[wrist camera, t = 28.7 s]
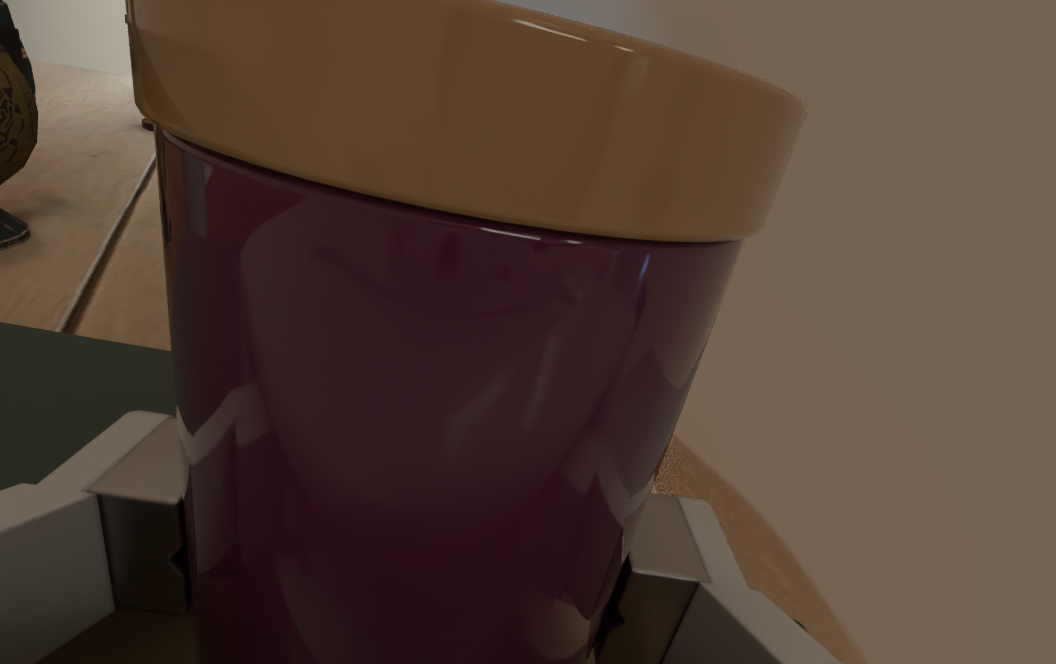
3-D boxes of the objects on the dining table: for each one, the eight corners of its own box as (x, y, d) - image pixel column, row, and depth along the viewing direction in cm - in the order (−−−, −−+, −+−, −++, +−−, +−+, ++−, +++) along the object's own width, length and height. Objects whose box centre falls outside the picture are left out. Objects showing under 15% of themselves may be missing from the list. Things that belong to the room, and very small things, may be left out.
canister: (518, 685, 13) (694, 102, 7) (513, 1061, 8) (1020, 120, 3) (287, 657, 12) (304, 14, 7) (126, 1036, 7) (-214, -170, 2)
